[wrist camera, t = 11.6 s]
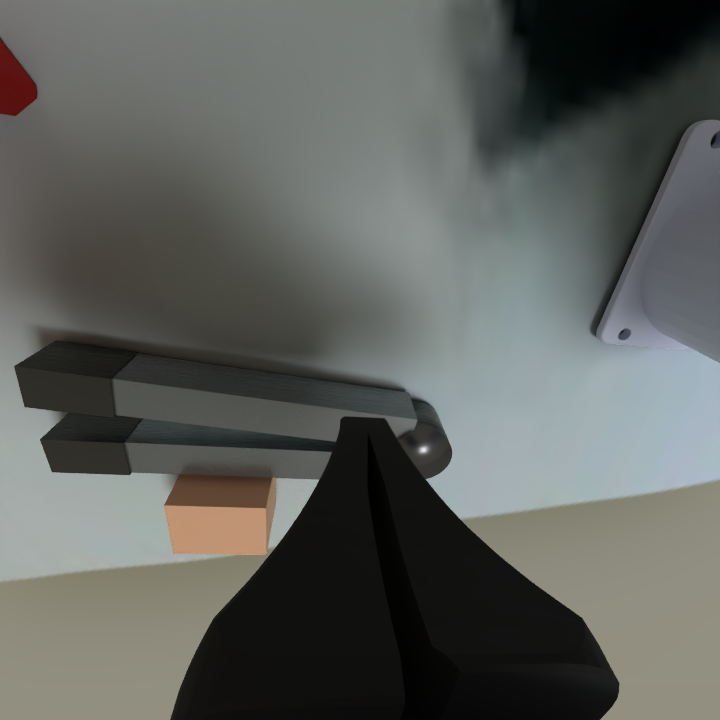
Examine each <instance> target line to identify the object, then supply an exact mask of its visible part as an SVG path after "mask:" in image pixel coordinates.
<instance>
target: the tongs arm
mask: <svg viewBox="0 0 720 720" xmlns="http://www.w3.org/2000/svg"><path fill="white" fill-rule="evenodd" d="M14 367H15V371H16V375H17V379H18V383H19V387H20V391H21V394H22V398H23V402H24V406H25V407H29V408H37V409H46V410H54V411H62V412H71V413H79V414H87V415H96V416H104V417H112V418H114V417H115V416H116V415H119V416H128V417H136V418H144V419H152V420H161V421H169V422H177V423H185V424H194V425H202V426H210V427H219V428H227V429H235V430H243V431H252V432H260V433H268V434H277V435H285V436H293V437H301V438H310V439H318V440H326V441H334V442H336V440H337V437H338V433H339V429H340V419H341V418H343V417H344V416H349V417H371V418H385V419H386V420H387V422H388V423H389V425H390V427H391V429H392V431H393V432H394V434H395V436H396V437H397V439H398V441H399V442H400V444H401V445H402V447H403V448H404V450H405V451H406V453H407V454H408V456H409V457H410V459H411V460H412V462H413V463H414V464H415V466H416V467H417V469H418V470H419V471H420V473H421V474H422V475H423V477H424V478H425V479H427V478H431V477H433V476H436V475H437V474H439V473H440V472H442V471H443V470H444V469H445V468H446V467H447V466H448V464H449V463H450V461H451V458H452V449H451V446H450V443H449V441H448V439H447V436H446V434H445V431H444V429H443V426H442V424H441V422H440V419H439V417H438V414H437V412H436V411H435V410H434V409H433V408H432V407H431V406H430V405H428V404H426V403H423V402H416V401H415V402H412V401H411V398H410V395H409V393H408V392H401V391H394V390H387V389H380V388H373V387H366V386H359V385H352V384H346V383H339V382H332V381H325V380H318V379H311V378H304V377H297V376H290V375H283V374H276V373H270V372H263V371H256V370H249V369H242V368H235V367H228V366H221V365H214V364H207V363H200V362H194V361H187V360H180V359H173V358H166V357H159V356H152V355H145V354H138V352H132V351H125V350H118V349H111V348H104V347H97V346H91V345H84V344H77V343H70V342H63V341H54V342H53V343H51V344H50V345H48V346H46V347H45V348H43V349H41V350H40V351H38V352H37V353H35V354H33V355H32V356H30V357H29V358H27V359H25V360H24V361H22V362H20V363H19V364H17V365H16V366H14Z"/></svg>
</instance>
